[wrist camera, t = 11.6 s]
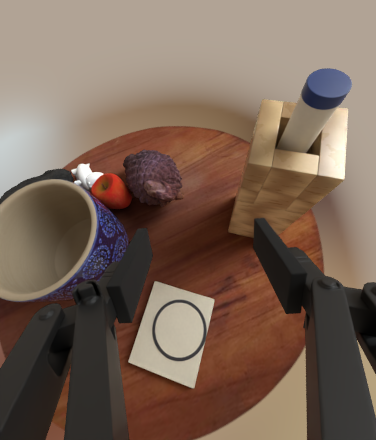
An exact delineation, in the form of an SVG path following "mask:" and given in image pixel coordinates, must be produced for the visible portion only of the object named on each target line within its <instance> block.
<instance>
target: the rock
mask: <svg viewBox="0 0 376 440" xmlns="http://www.w3.org/2000/svg"><path fill="white" fill-rule="evenodd" d="M49 179H61V180H66V181H70V182H73V177H72V175H71V172H69V171H67V170H65V169H56V170H48V171H46V172H45V173H44V174H43V175H40V176H38V177H34V178H31V179H27V180H25V181H23V182H21V183H20V184H18V185H17V186H15V187H13V188H11V189H10V190H8V191H7V192H5V193H4V195H3V196H2V197H1V199H0V204H1V203H2V202H3V201H4V200H6V199H7V198H8V197H9V196H11V195H12V194H13V193H15V192H16V191H18V190H20V189H21V188H23V187H25V186H27V185H30V184H32V183H35V182H38V181H42V180H49Z"/></svg>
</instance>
